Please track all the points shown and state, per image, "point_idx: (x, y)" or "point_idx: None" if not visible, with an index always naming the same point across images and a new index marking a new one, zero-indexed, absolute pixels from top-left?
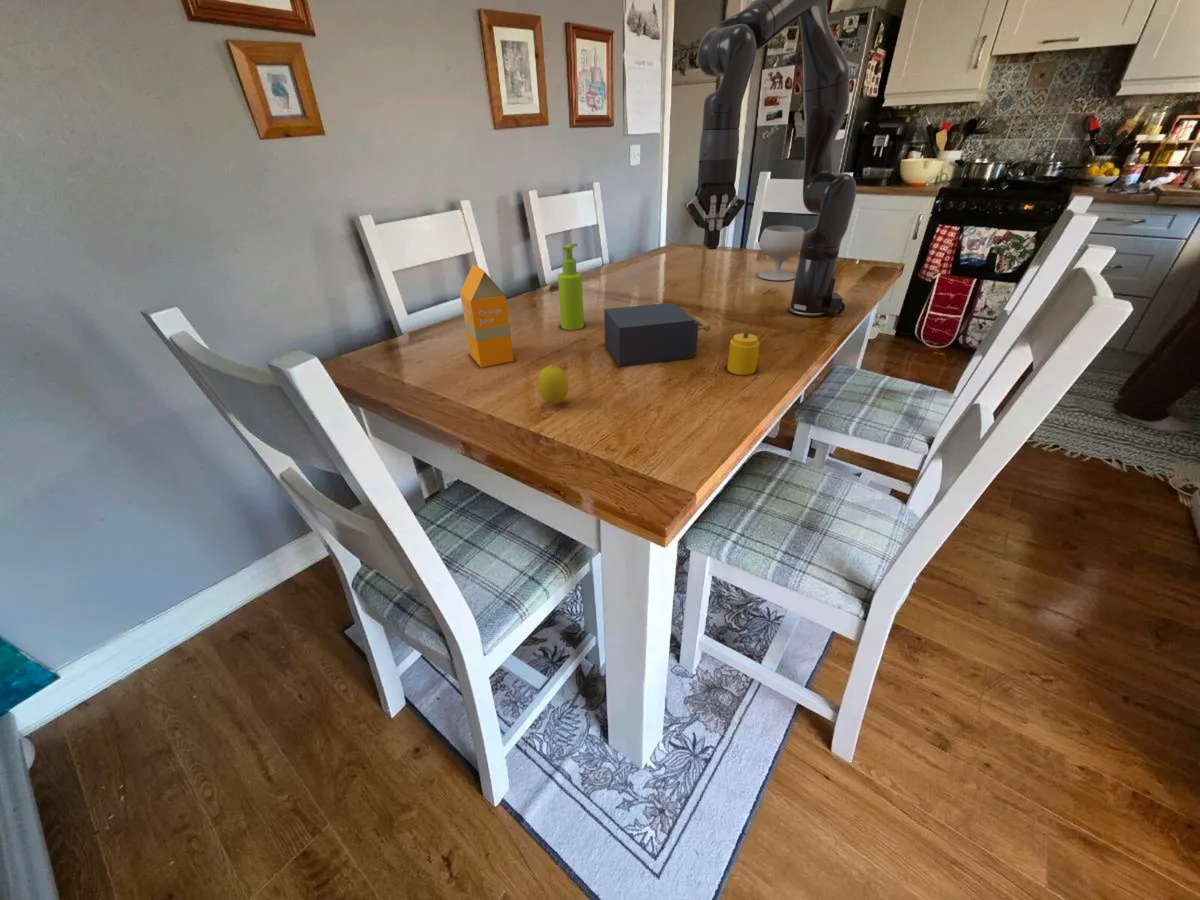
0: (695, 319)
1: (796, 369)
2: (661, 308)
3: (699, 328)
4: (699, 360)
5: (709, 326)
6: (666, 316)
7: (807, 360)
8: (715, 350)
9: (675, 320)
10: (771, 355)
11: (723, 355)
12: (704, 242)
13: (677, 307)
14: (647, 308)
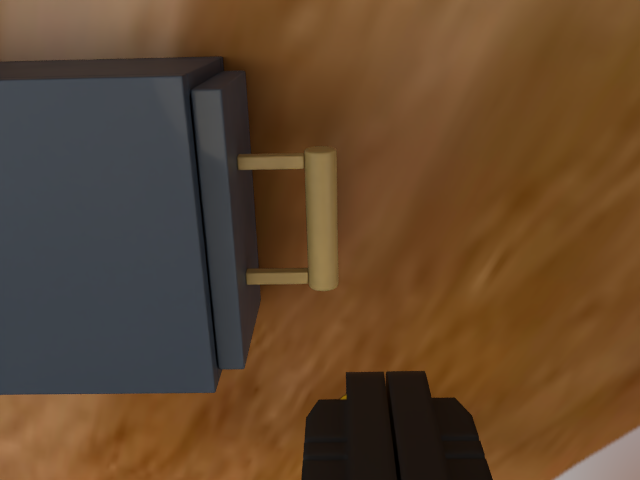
0: (306, 166)
1: (543, 463)
2: (86, 177)
3: (282, 282)
4: (263, 326)
5: (330, 288)
6: (90, 310)
7: (629, 415)
8: (361, 254)
9: (123, 373)
10: (540, 350)
11: (369, 307)
12: (306, 423)
13: (183, 185)
14: (3, 152)
